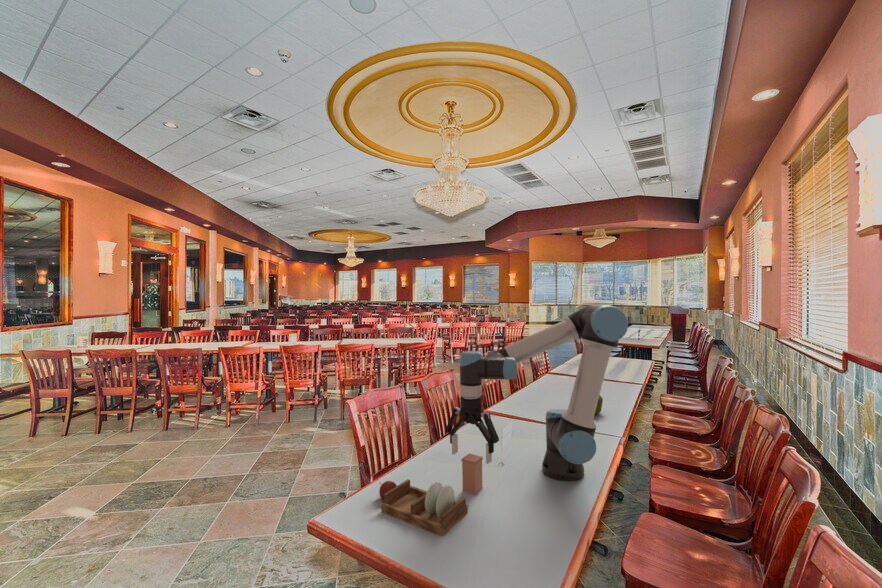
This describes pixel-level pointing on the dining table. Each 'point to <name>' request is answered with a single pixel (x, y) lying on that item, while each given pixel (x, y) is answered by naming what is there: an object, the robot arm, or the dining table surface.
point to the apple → (599, 405)
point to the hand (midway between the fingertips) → (471, 457)
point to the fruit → (386, 488)
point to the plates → (439, 499)
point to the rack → (420, 509)
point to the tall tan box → (472, 473)
